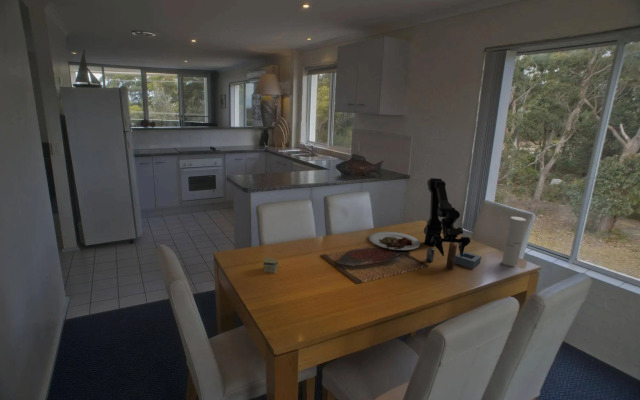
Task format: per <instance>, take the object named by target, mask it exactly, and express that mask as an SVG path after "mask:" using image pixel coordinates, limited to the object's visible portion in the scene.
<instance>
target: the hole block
mask: <svg viewBox="0 0 640 400" xmlns="http://www.w3.org/2000/svg"><path fill="white" fill-rule="evenodd" d="M481 260H482V256H480V255H478V254H474V253H470V252H468V251H463V256H462V257H461V256H460V252H459V253H456V256H455V262H454V264H456V265H460V266H462V267H465V268H469V269H472V270H473V269H474V270H475V268H476V267H478V266H479V265H480V264H481Z"/></svg>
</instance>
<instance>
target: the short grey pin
mask: <svg viewBox="0 0 640 400" xmlns="http://www.w3.org/2000/svg"><path fill="white" fill-rule="evenodd" d="M426 249H427V250H426V257H425V261H426V262H427V263H433V262H434V256H435V248H433V247H432V246H430V247H429V246H428V247H427V248H426Z"/></svg>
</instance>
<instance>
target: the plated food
mask: <svg viewBox="0 0 640 400" xmlns="http://www.w3.org/2000/svg"><path fill="white" fill-rule="evenodd" d="M368 240H369V241H370V242H371V243H372V244H373V245H375V246H378V247H381V248H384V249H387V248H388V247H389V248H388V250H394V251H412V250H416V249H418V248H420V246H421V241H420V240H419V239H417V238H416V237H414V236H412V235H409V234H406V233H403V232H395V231H379V232H378V231H377V232H373V233H371V234H370V235H369V236H368ZM393 247H398V248H401V249H394V248H393Z"/></svg>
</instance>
